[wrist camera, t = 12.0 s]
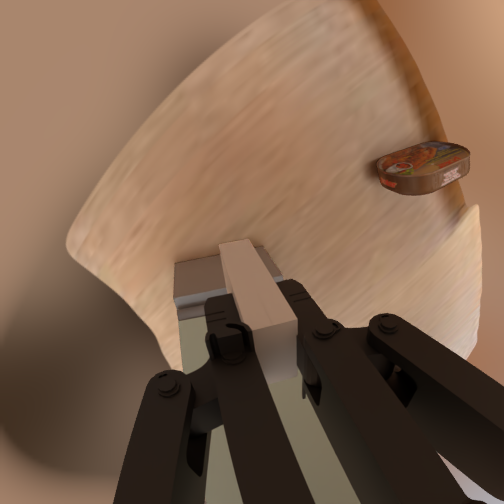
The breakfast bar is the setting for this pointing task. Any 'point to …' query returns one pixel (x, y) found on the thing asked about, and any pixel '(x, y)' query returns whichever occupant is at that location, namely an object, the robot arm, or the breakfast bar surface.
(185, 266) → the grey u-shaped bracket
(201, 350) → the cover
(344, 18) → the breakfast bar surface
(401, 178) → the tin
